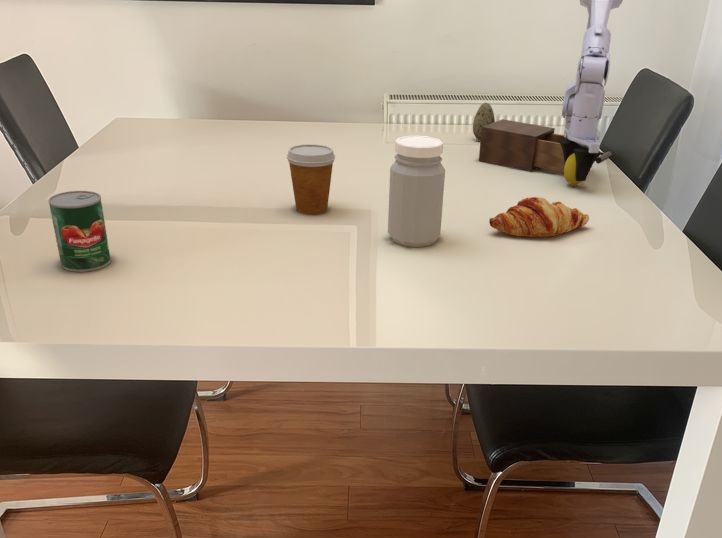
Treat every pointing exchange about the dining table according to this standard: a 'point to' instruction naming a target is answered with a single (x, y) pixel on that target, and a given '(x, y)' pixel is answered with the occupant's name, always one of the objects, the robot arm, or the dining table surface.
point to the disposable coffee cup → (311, 176)
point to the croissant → (538, 218)
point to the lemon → (571, 170)
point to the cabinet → (511, 143)
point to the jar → (416, 191)
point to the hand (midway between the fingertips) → (575, 176)
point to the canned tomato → (80, 230)
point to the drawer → (555, 153)
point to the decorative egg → (482, 119)
